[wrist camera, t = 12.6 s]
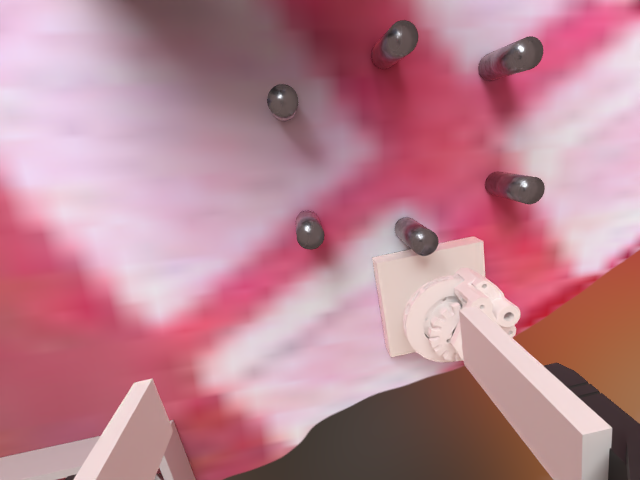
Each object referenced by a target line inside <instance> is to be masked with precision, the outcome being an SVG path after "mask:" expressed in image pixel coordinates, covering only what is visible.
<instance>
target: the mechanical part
mask: <svg viewBox="0 0 640 480" xmlns="http://www.w3.org/2000/svg"><path fill="white" fill-rule="evenodd" d="M474 306H477V307H478V308H479V309H480V310H481V311H482V312H484V313H485V314H486V315H487V316H488V317H489V318H490V319H491V320H493V321H494V322H495V323H496V324H497V325H498V326H499V327H500V328H501V329H503V330H504V331H505V332H506V333H507V334H508V335H509V336H510V337H511V338H512V337H513V336H514V335H515V333H516V327H515V326H514V325H515V324H516V323H517V322H518V320H519V318H520V314H521V313H520V310H519V308H518V307H517V306H516V305H514V304H513V303H512V302H510V301H509V300H507V299H506V298H505V297H504V293H503V292H502V291H501V290H500V289H499V288H498V287H497V286H496V285H495V284H493V283H492V282H491V281H489V280H488V279H487V278H485V277H484V276H482V275H481V274H479V273H478V272H476V271H474V270H471V269H469V268H460V269H459V270H458V271H457V272H455V274H454V275H450V276H442V277H439V278H436V279H433V280H431V281H429V282H427V283H425V284H424V285H423V286H422V287H420V288H419V289H418V290H417V291H416V292H415V293H414V294H413V295H412V297H411V298H410V300H409V301H408V303H407V305H406V308H405V310H404V315H403V328H404V332H405V335H406V337H407V339H408V341H409V343H410V344H411V346H412V347H413V349H414V350H415V351H416V352H417V353H418V354H420V355H421V356H422V357H424V358H426V359H428V360H431V361H435V362H454V361H464V359H463V348H462V338H461V327H460V316H459V310H461V309H465V308H470V307H474Z"/></svg>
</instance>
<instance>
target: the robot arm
mask: <svg viewBox="0 0 640 480" xmlns="http://www.w3.org/2000/svg"><path fill="white" fill-rule="evenodd" d="M459 316H460V327H461V338H462V348H463V359H464V365H465V366H466V368H467V369H468V370H469V371H470V373H471V374H472V375H473V377H474V378H475V379H476V380H477V382H478V383H479V384H480V386H481V387H482V388H483V389H484V391H485V392H486V393H487V395H488V396H489V397H490V398H491V400H492V401H493V402H494V404H495V405H496V406H497V408H498V409H499V410H500V411H501V413H502V414H503V415H504V417H505V418H506V419H507V420H508V422H509V423H510V424H511V426H512V427H513V428H514V429H515V431H516V432H517V433H518V435H519V436H520V437H521V439H522V440H523V441H524V442H525V444H526V445H527V446H528V448H529V449H530V450H531V451H532V453H533V454H534V455H535V457H536V458H537V459H538V461H539V462H540V463H541V464H542V466H543V467H544V468H545V469H546V471H547V472H548V473H549V475H550V476H551V477H552V478H553V480H640V424H639V423H637V422H636V421H635V420H634V419H633V418H632V417H630V416H629V415H628V414H627V413H625V412H624V411H623V410H622V409H621V408H619V407H618V406H617V405H616V404H614V403H613V402H612V401H611V400H609V399H608V398H607V397H606V396H605V395H603V394H602V393H601V394H600V392H599V391H598V390H597V389H596V388H595V387H593V386H592V385H591V384H588V382H587V381H586V380H585V379H584V378H583V377H581V376H580V375H579V374H578V373H576V372H575V371H574V370H571V369H569V368H567V367H565V366H563V365H561V364H559V363H554V364H549V365H545V366H543V365H541V364H540V363H539V362H538V361H537V360H536V359H535V358H534V357H533V356H531V355H530V354H529V353H528V352H527V351H526V350H525V349H524V348H523V347H522V346H520V345H519V344H518V343H517V342H516V341H515V340H514V339H513V338H511V337H510V336H509V335H508V334H507V333H506V332H505V331H504V330H503V329H501V328H500V327H499V326H498V325H497V324H496V323H495V322H494V321H493V320H491V319H490V318H489V317H488V316H487V315H486V314H485V313H484V312H482V311H481V310H480V309H479V308H478V307H477V306H474V307H470V308H465V309H461V310H459ZM172 433H173V429H172V426H171V424H170V421H169V419H168V416H167V414H166V411H165V409H164V406H163V404H162V401H161V399H160V396H159V394H158V391H157V389H156V386H155V384H154V381H153V379H148V380H144V381H139V382H135V383H134V384H133V385H132V387H131V388H130V390H129V392H128V393H127V395H126V396H125V398H124V400H123V401H122V403H121V404H120V406H119V408H118V409H117V411H116V412H115V414H114V416H113V417H112V419H111V420H110V422H109V424H108V425H107V427H106V428H105V430H104V432H103V433H102V435H101V436H100V438H99V439H98V441H97V443H96V444H95V446H94V447H93V449H92V451H91V452H90V454H89V455H88V457H87V459H86V460H85V462H84V463H83V465H82V467H81V468H80V470H79V471H78V473H77V474H75V475H71V476H68V477H67V478H66V479H65V480H154V479H155V476H156V474H157V471H158V469H159V466H160V463H161V461H162V458H163V456H164V453H165V451H166V448H167V446H168V443H169V440H170V438H171V435H172Z"/></svg>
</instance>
